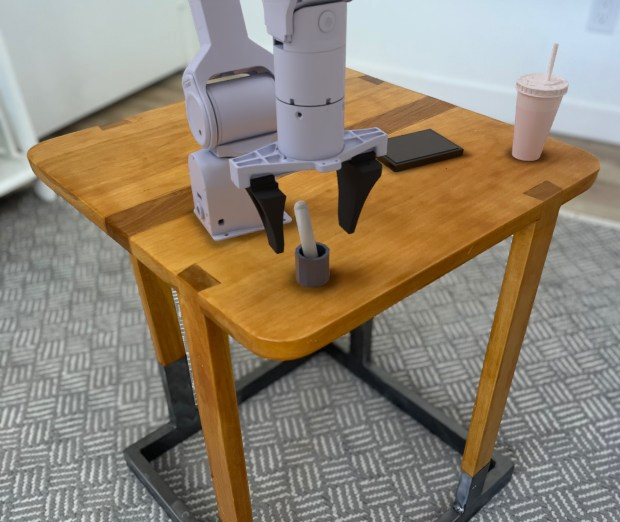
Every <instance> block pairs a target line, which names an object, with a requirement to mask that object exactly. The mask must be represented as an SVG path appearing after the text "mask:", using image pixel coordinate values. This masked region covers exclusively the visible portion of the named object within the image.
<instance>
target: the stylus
mask: <svg viewBox="0 0 620 522" xmlns="http://www.w3.org/2000/svg"><path fill="white" fill-rule="evenodd" d="M293 211H294V217H295V221H296V225H297V231H298V234H299V235H298V236H299V239H300V244H301V245H302V250H303V254H304V257H306V258H318V252H317V247H316V243H315V242H316V237H315V234H314V229H313V223H312V218H311V213H310V208H309V205H308V203H307V202H306V201H305V200H297V201H296V202H295V203H294V205H293Z"/></svg>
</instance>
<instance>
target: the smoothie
mask: <svg viewBox="0 0 620 522" xmlns="http://www.w3.org/2000/svg"><path fill="white" fill-rule="evenodd" d="M558 48H559V43H556V42H555V43H553V46H552V51H551V55H550V60H549V63H548V64H549V65H548V68H547V71H546V73H540V72H538V73H537V72H535V73H534V72H533V73H532V72H531V73H526V74H522V75H520V76H519V77H517V80H516V84H515V86H514V88H515V90H516V91H517V92H516V99H515V101H516V102H515V115H514V126H513V137H512V149H511V156H512V157H513V158H515V159H517V160H519V161H524V162H533V161H538V160H539V159H540V158H541V155H542V152H543V150H544V148H545V146H546V145H545V144H546V142H547V139H548V137H549V135H550V132H551V129H552V127H553V124H554V121H555V118H556V116H557V113H558V111H559V109H560V106H561V103H562V101H563V98H564V96H565V95H566V94H567V93H568V91H569V90H568V89H569V86H570V83H569V81H568V80H567V79H566V78H564V77H562V76H560V75H559V76H558V75H555V74H553V69H554V66H555V62H556V57H557V53H558Z"/></svg>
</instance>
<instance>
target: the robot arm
mask: <svg viewBox="0 0 620 522" xmlns="http://www.w3.org/2000/svg"><path fill="white" fill-rule="evenodd" d="M187 1H188V5H189V9H190V13H191V16H192V21H193V24H194V27H195V31H196V36H197V39H198V42H199V50H198V51H197V53H196V54H195V55H194V57H193V58H192V59H191V60H190V62H189V63H188V65H187V66H186V67H185V70H184V71H183V74H182V77H181V86H182V90H183V95H184V99H185V100H184V101H185V103H184V104H185V105H184V106H185V113H186V118H187V121H188V122H187V123H188V126H189V128H190V129H189V130H190V131H191V134H192V136H193V138H194V140H195V142H196V143H197V145H199V146H200V147H202V148H200V149H199V150H196V151H193V152H190V153H189V154H188V158H187V166H188V173H189V174H188V175H189V181H190V186H191V187H190V188H191V193H192V200H193V206H194V209H193V213H194V215H195V216H196V217H197V219H198V220H199V221H200V223H201V224H202V226H203V227H204V229H205V230H206V231H207V232H208V234H209V235H210V237H211V238H212V239H213V240H214V242H222V241H226V240H229V239H234V238H238V237H241V236H245V235H249V234H252V233H256V232H260V231H263V230H264V231H265V235H266V238H267V242H268V243H267V244H268V246H269V247H270V248H271V249H272V251H273V252H274V253H275V254H276V255H280V254H283V253H284V252H285V233H284V232H285V231H284V225H287V224H290V223H291V224H292V222H293V218H292V217H291V216H290V215H289V214H288V213H287V212H286V210H285V207H286V202H287V195H286V193H284V191H282V190H281V189H280V187H279V182H278V178H279V177H281V176H286V175H290V174H294V173H299V172H303V171H304V172H305V171H317V172H319V173H321V174H326V173H331V172H336V180H337V181H336V182H337V193H338V195H337V220H338V226H339V227H340V228H341V229H342V230H343V231H344V232H346V233H347V234H348V235H352V234H355V231H356V229H357V225H358V222H359V220H360V216H361V213H362V210H363V208H364V204H365V203H366V201H367V199H368V197H369V195H370V193H371V191H372V189H373V188H374V187H375V185H376V184H377V182H379V180H380V178H382V175H383V163H382V162H381V161H379V160H378V159H376V156H377V157H379V156H383V155H386V154H387V141H388V138H389V134H388V133H386V132H385V131H383V130H382V129H381V128H379V127H377V126H376V127H375V126H374V127H370V128H362V129H360V128H359V129H348V130H347V129H345V108H346V107H345V106H346V71H347V70H346V69H347V32H348V31H347V28H348V27H347V26H348V25H347V24H348V3H351V2H353V0H261V2H262V7H263V17H264V18H263V19H264V25H265V26H266V32H267V35H270V36H272V48H273V49H272V51H273V52H271V51H269V50H268V49H266V48H265V47H263V46H262V45H260V44H258V43H257V42H255V41H254V40H252V39H251V38H250V37H249V34H248V31H247V30H248V29H247V26H246V22H245V17H244V13H243V9H242V4H241V1H240V0H187ZM237 75H245V76H240V77H235V78H231V79H225V80H220V81H215V82H211V83H208V81H212V80H217V79H221V78H227V77H233V76H237Z"/></svg>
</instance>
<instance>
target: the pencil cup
mask: <svg viewBox="0 0 620 522" xmlns="http://www.w3.org/2000/svg"><path fill="white" fill-rule="evenodd" d="M315 243H316V247H317V252H318V258H306V257H304V254H303V250H302V245H301V243H300V244H299V245H297V246H296V247H295V250H294V264H295V265H294V267H295V280H296V282H297V283H298V284H300V285H301V286H302V287H303V286H304V287H307V288H318V287H321V286H324V285H326V284H328V282H329V280H330V276H331V274H330V273H331V271H330V270H331V269H330V268H331V263H330V262H331V253H330V252H331V249H330V247H329V246H328V245H327V244H325V243H322V242H319V241H315Z"/></svg>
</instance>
